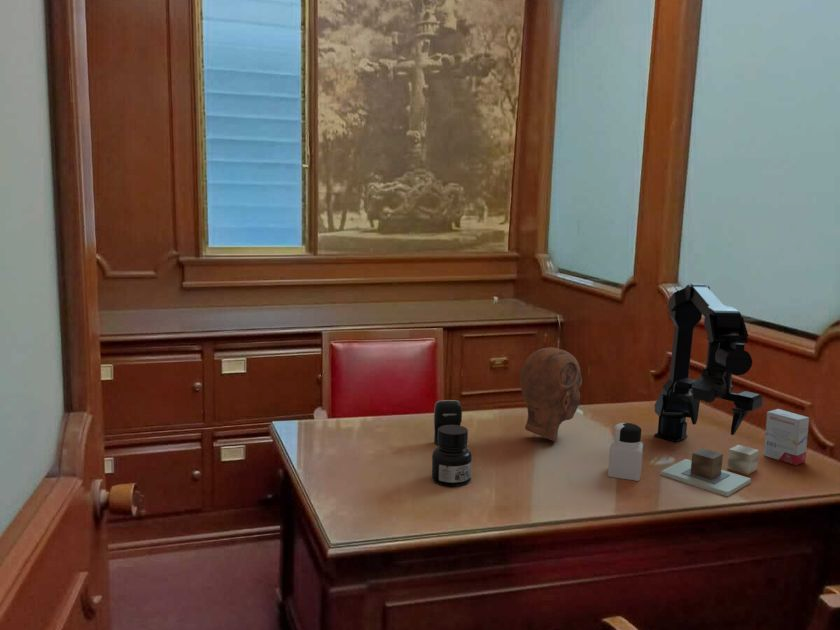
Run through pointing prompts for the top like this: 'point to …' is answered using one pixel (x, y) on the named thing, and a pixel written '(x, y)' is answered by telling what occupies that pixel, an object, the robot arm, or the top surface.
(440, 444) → the ink bottle
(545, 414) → the head sculpture
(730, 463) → the maple cube
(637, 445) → the medicine bottle
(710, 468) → the walnut cube
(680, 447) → the top surface
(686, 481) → the board
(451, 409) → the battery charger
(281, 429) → the top surface
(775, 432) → the ink box
